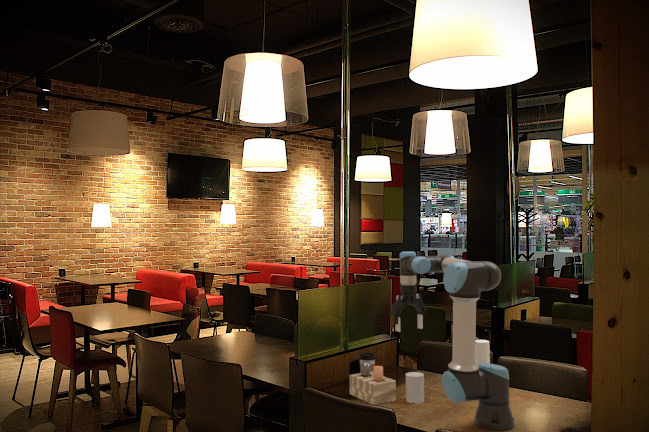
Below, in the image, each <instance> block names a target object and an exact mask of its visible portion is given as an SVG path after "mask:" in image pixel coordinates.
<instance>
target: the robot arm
mask: <svg viewBox="0 0 649 432" xmlns="http://www.w3.org/2000/svg"><path fill="white" fill-rule="evenodd" d="M429 273H443V279H442V282H443V285H444V289H445V292H447V293H449V298H450V299H452V302H453V303H452V307H453V308H452V356H451V357H452V358H451V362H449V363H448V365H447V366H448V368H447V370H446V371H444V372H443V374H442V375H441V384H442V388H443V390H444V393H445V395H446V397H447V398H448V399H449V400H450V401H452V402H454V403H466V402H473V401H478V404H477V408H476V412H475V415H474V424H475V425H476V426H478V427H480V428H482V429H486V430H489V431H491V430H492V431H507V430H512V429H513V428H514V427H515V426H516V425H515V423H516V422H515V418H514V417H513V412H512V409H511V406H510V374H509V370H508V368H506V366H502V365H499V364H494V363H490V364H489V363H480V364H478V365H477V364H476V363H475V340H477V339H476V338H477V335H476V334H477V333H476V328H477V327H476V325H477V323H476V322H477V316H476V315H477V302H478V300H480V298H481V292H486V291H491V290H494V289H495V288H496V287H497V286H499V284H500V282H501V280H502V272H501V269H500V268H499V266H498V265H497V264H495V263H494V262H492V261H487V260H486V261H485V260H479V261H472V260H467V259H462V258H456V257H455V256H453V255H430V256H429V255H425V256H417V253H416V252H415V251H401V252H400V254H399V274H400V275H399V276H400V279H399V282H400V295H395V300H394V303H393V306H392V309H391V312H390V314H389V315H390V316H391V317H392V318H394V321H393V324H394V325H395V332H398V333H401V317H400V316H401V313H402V312H403V310H404V309H405V307H406V306H409V305H412V306H413V307H414V308H415V310H416V311H417V329H420V330H422V329H423V328H424V324H423V323H424V322H423V321H424V315H426V314H427V309H426V305H425V304H424V301H423V298H422V294H421V293H417V292H418V291H417V288H418V287H417V274H419V275H421V274H429Z"/></svg>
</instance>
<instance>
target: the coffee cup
mask: <svg viewBox="0 0 649 432" xmlns="http://www.w3.org/2000/svg"><path fill="white" fill-rule="evenodd" d="M358 360H359V368H360V372H361V362H370V372H373V367H374V366H376V362H375V360H376V355H375V353H374V352H359V355H358Z"/></svg>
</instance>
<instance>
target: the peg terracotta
mask: <svg viewBox="0 0 649 432" xmlns="http://www.w3.org/2000/svg"><path fill="white" fill-rule="evenodd" d="M373 375H374V381H375V382H382V381H383V376H384V366H383V365H375V366H374V367H373Z"/></svg>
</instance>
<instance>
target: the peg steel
mask: <svg viewBox="0 0 649 432" xmlns="http://www.w3.org/2000/svg"><path fill="white" fill-rule="evenodd" d="M360 373H361V376H362V377H370V376H371V372H370V362H361V371H360Z"/></svg>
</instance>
